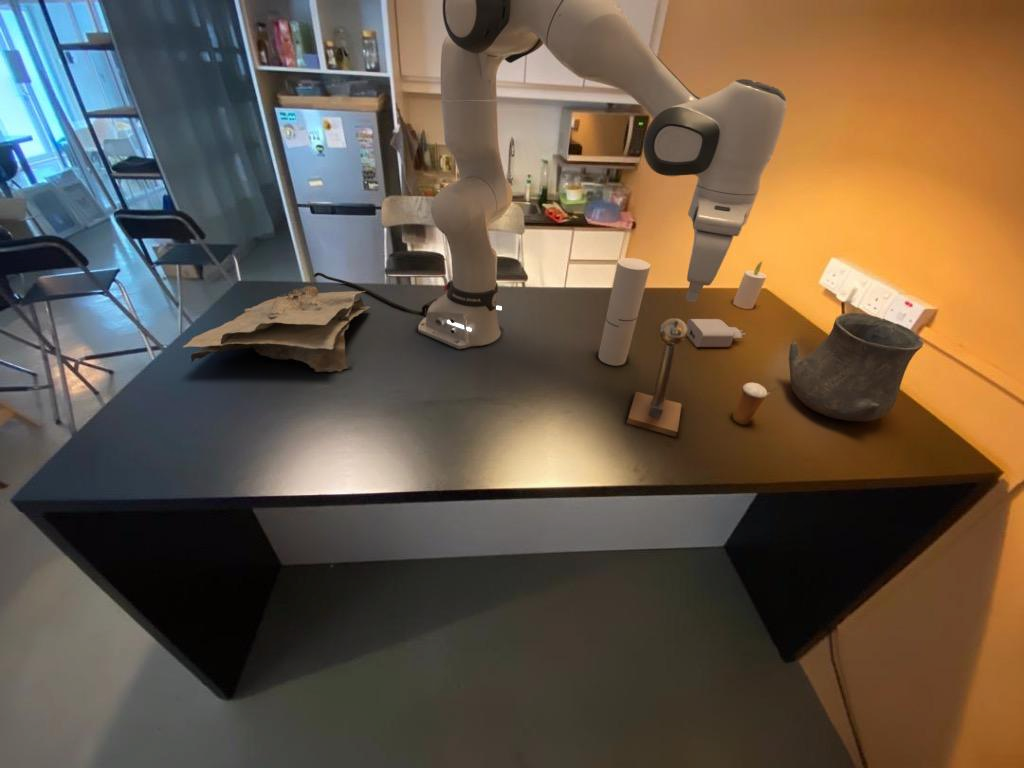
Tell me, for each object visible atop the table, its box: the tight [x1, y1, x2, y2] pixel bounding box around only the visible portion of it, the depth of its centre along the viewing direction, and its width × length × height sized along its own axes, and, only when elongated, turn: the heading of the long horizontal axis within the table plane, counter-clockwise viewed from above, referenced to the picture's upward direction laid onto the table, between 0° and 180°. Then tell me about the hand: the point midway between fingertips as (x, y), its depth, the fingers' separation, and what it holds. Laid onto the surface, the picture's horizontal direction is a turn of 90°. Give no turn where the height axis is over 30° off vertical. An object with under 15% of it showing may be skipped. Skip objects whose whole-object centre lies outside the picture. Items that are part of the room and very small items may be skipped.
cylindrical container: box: [597, 257, 651, 366], centre depth 102 cm, size 7×7×25 cm
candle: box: [732, 260, 767, 310], centre depth 136 cm, size 6×6×15 cm
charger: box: [686, 318, 747, 348], centre depth 118 cm, size 5×9×15 cm
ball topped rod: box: [652, 317, 688, 408], centre depth 84 cm, size 21×5×5 cm
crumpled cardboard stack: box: [182, 285, 370, 373], centre depth 105 cm, size 35×16×32 cm
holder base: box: [626, 391, 682, 438], centre depth 90 cm, size 10×10×4 cm
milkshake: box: [732, 381, 776, 425], centre depth 89 cm, size 4×5×10 cm
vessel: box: [788, 312, 925, 422], centre depth 92 cm, size 22×22×20 cm
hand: (692, 290), depth 75 cm, fingers open, 8 cm apart
